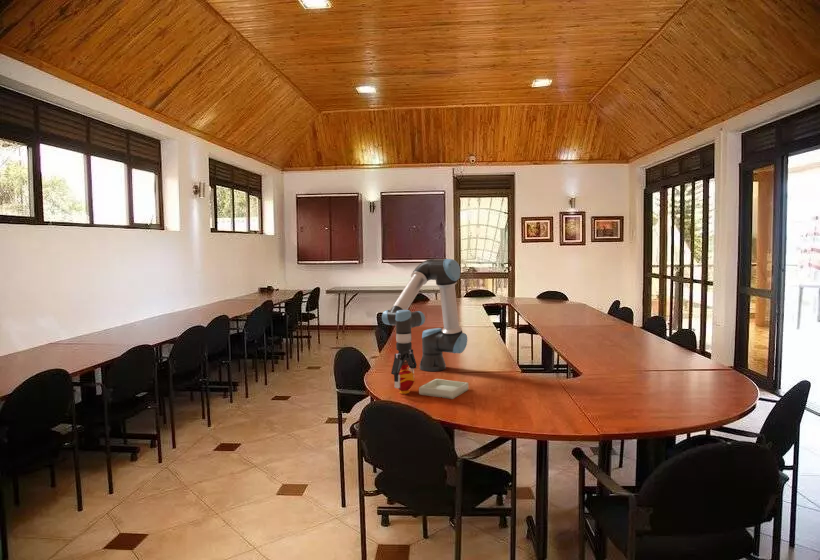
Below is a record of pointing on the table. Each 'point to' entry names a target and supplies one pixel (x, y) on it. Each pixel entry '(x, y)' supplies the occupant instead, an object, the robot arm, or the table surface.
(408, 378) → the potion bottle
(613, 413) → the table surface
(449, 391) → the bin
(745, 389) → the table surface
